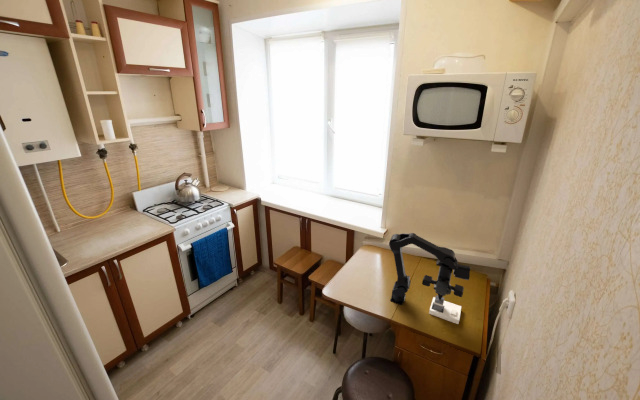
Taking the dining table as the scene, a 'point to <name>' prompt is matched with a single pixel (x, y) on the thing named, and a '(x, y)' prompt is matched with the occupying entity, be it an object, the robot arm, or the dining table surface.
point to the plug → (438, 304)
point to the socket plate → (447, 311)
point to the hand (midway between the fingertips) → (439, 298)
